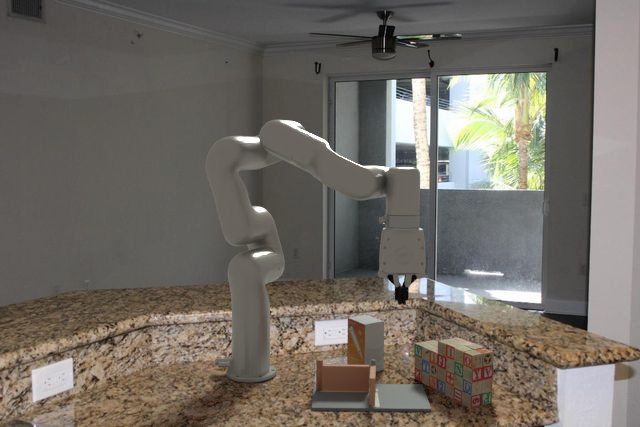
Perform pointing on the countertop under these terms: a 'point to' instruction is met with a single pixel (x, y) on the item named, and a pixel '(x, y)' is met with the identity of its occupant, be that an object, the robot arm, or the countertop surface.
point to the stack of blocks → (456, 370)
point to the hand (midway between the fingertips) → (401, 303)
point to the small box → (365, 341)
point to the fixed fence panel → (341, 377)
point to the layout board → (385, 399)
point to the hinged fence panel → (372, 383)
